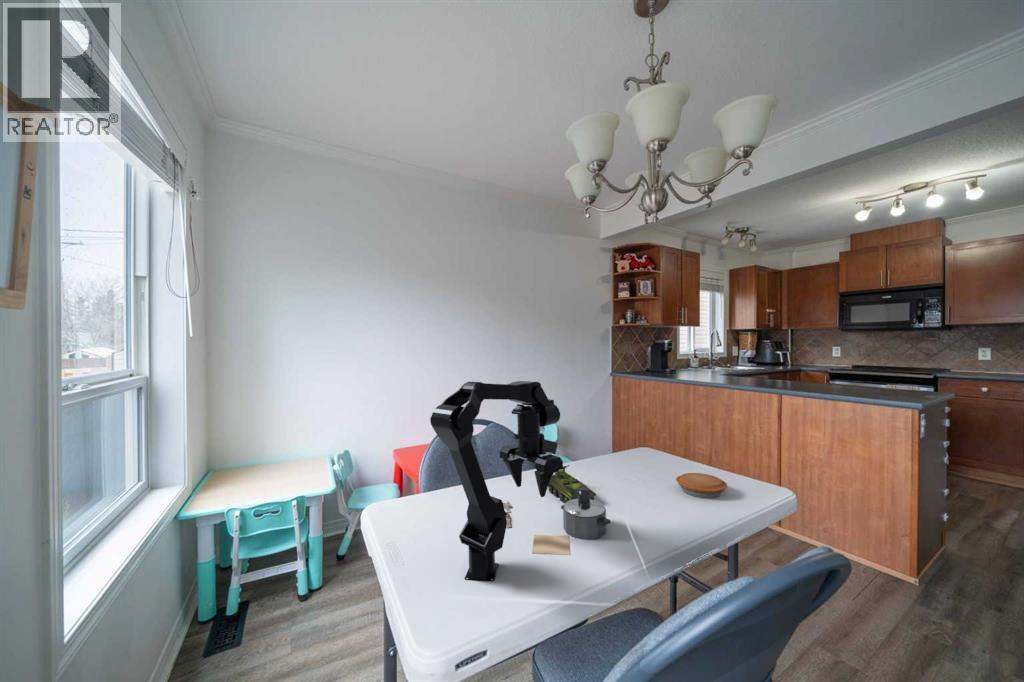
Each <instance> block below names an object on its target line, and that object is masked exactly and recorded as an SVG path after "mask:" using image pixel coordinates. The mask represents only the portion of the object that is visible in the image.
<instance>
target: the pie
mask: <svg viewBox="0 0 1024 682" xmlns="http://www.w3.org/2000/svg"><path fill="white" fill-rule="evenodd" d="M675 481H676V483H677V484H678V485H679V486H680V488H681V490H682V491H683V493H684V494H686V495H689V496H691V497H694V498H699V499H709V500H710V499H717V498H719V497H721V495H722V494H723V492H724V491H725V490H726V489H727V488H728V483H727V482H726V481H724V480H723V479H721V478H720V477H718V476H715V475H711V474H709V473H708V474H707V473H702V472H687V473H683V474H681V475H678V476H677V477H676V478H675Z"/></svg>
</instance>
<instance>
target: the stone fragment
mask: <svg viewBox="0 0 1024 682" xmlns="http://www.w3.org/2000/svg"><path fill="white" fill-rule="evenodd" d="M503 506H504V510H505V512H506V513H507V515H506V520H507V525H506V529H509V528H512V523H511V517H510V515H509V513H511V512H512V511H511V506H512V505H511V504H510V501H508V500H507V502H503Z"/></svg>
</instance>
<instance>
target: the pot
mask: <svg viewBox="0 0 1024 682" xmlns="http://www.w3.org/2000/svg"><path fill="white" fill-rule="evenodd" d="M560 509H561V510H562V511H563V515H562V517H563V530H564V532H565V534H567V536H569V537H573V538H574V539H577V540H585V541H588V540H589V541H590V540H599V539H600V538H603V537H604V536H606V534H607V530H608V528H607V525H609V524H610V523H611V519H609V518H607V509H606V508H605V512H604V513H603V514H602V515H600V516H597V517H592V518H583V517H577V516H573V515H570V514H569V513H567V512H566V511H565V509H564V504H562V505H560Z"/></svg>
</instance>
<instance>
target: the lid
mask: <svg viewBox="0 0 1024 682" xmlns="http://www.w3.org/2000/svg"><path fill="white" fill-rule="evenodd" d="M588 488H589V487H588ZM588 488H584V487H582V488H578V499H573V500H570V501H567V502H566V503H564V504H563V505H564V509H565V511H566V512H567V513H569V514H570V515H573V516H577V517H583V518H592V517H597V516H600V515H602V514H603V513H604V512H605V509H606V505H604V504H603V503H602V502H600V501H597V500H596V499H595V500H591V499H590V490H591V489H590V488H589V489H588Z"/></svg>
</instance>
